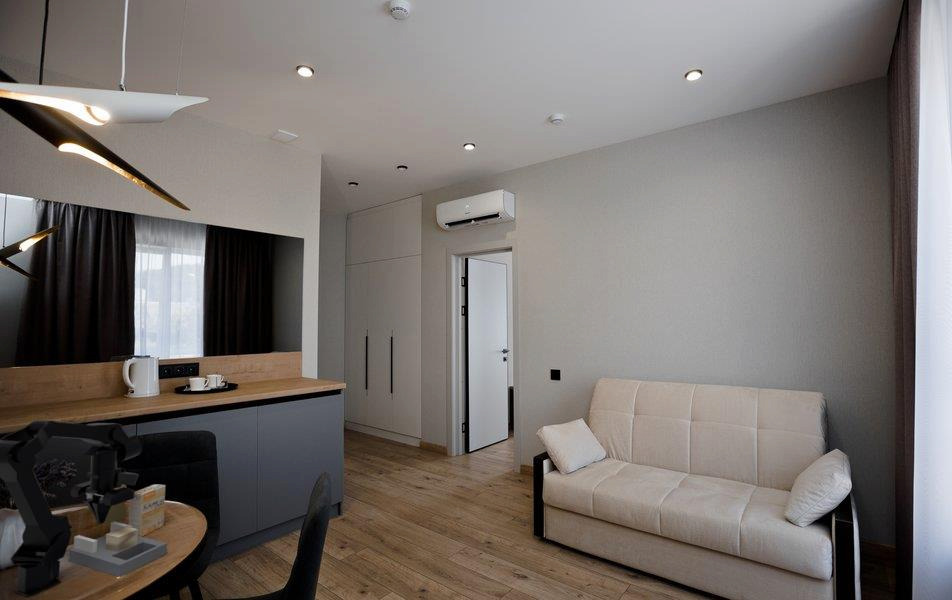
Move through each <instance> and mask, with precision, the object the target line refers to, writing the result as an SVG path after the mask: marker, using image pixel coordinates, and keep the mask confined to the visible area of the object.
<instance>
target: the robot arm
mask: <svg viewBox="0 0 952 600" xmlns="http://www.w3.org/2000/svg"><path fill="white" fill-rule="evenodd" d="M137 437H138V435H137V434H127V433H126V432H125V430H124V429H123V427H122V424H121V423H118V422H117V423H112V422H109V423H108V422H95V423H87V424H82V423H74V422H73V423H72V422H62V421H61V422H60V421H55V420H49V419H48V420H47V419H46V420H44V419H43V420H42V419H38V420H35V421H32V422H30V423H29V424H27V425H26V426H24V427H22V428H20V429H17V430H15V431H13V432H11V433H9V434H6V435H4V436H3V437H1V438H0V479H1V480H3V482H4V484H5V485H6V488H7V490H8V492H9V494H10V496H11V498H12V501H13V502H14V504H15V507H16V508H17V511H18V513H19V515H20V517H21V518H22V519H21V520H22V521H23V523H24V526H25V527H24V530H23V533H22V535H21V537H22V543H21V545H20V546H18V548H17V550H16V551H15V552H14V553H13V554H12V556H11V558H10V561H11V563H12V566H18V572H17V573H18V575H17V587H14V588H13V592H15V593H17V594H20V595H23V596H25V597H27V598H28V597H31V596H33V595H36V594H39V593H40V592H42V591H44V590H47V589H49V588H51V587H53V586H56V585H58V584H60V583H61V581H62V579H60V568H61V561H60V560H61V559H63V558H64V557H65V554H66V552H67V548H68V546H69V544H70V540H71V537H72V530H71V529H73V526H72V525H71V524H70V522H69V518H68V516H66V515H59V514H58V515H56V514H55V515H54V514H53V512H52V509H51V507H50V505H49V503H48V501H47V499H46V496H45V494H44V491H43V490H42V488H41V486H40V483H39V481H38V479H37V476H36V474H35V472H34V468H35V465H36V462H37V455H38V453H40V452H41V451H42V450H43V449H44V448H45V447H46V446H47V444H48V442H49V440H50V439H52V438H64V439H78V440H82V442H86V443H89V444H94V445H91V447H90V448H89V449H88V450H87V451H85V452H84V454H83V455H84V456H85V457H86V456H87V457H91V458H90V472H87V473H86V477H87V478H90V480H88V481H85V482H82V483H79V484H75V485H74V486H73V487H72V488H71V489H70V497H73V498H79V497H80V496H81V494H83V493H85V495H86V499H83V500H82V501H83V503H85V505H86V506H87V509H89V510H90V512H91V513H92V515H93V517H94V519H95V520H96V521H97V524H99V525H100V524H101V525H102V524H105V523H104V522H105V520H106V517H107V515H108V512H109V510H110V508H111V506H113V505H117V504H119V503H122V502H125V503H126V502H127V501H130V500H131V499H134V498H135V491H136V490H134V489H132V488H129V487H127V488H125V487H123V488H120V489H117V490H116V489H114V488H119V487H122V485H126V486H127V485H128V486H136V482H137V480H138V478H139V476H140V474H138V473H135V472H130V471H129V472H128V471H126V468H124V467H118V463H122V462H124V461H126V460H129V459H133V458H135V457H137V456H139V455H140V454H141V453H142V452H143V447H144V446H143V444H142V442H141V441H140V439H138V438H137ZM95 444H96V445H95ZM98 444H99V445H100V444H101V445H100V446H99V445H98Z"/></svg>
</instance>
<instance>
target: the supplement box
mask: <svg viewBox="0 0 952 600" xmlns="http://www.w3.org/2000/svg"><path fill="white" fill-rule="evenodd" d="M134 491H135V498H134V499H131V500H129V510H128V511H129V512H128V525H130V526H133V528H135V529H138V536H141V537H145V536H146V535H148V534H150V533H152V532H154V531H157V530H158V529H160V528H163V527H164V521H165V520H164V519H165V504H166V503H165V501H166V498H165V497H166V484H151V485H149V486H146V487H144V488H141V489H138V490H134Z"/></svg>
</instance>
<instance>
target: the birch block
mask: <svg viewBox="0 0 952 600" xmlns="http://www.w3.org/2000/svg"><path fill="white" fill-rule="evenodd" d="M105 535H106V549H107V550H111V551H114V552H120V551H122V550H124V549H127V548H129V547H131V546H133V545H136V544H137V537H138V529H135V528H131V527H127V526H125V527H123V528H120V529H118V530H115V531H113V532H108V533H106V534H105Z"/></svg>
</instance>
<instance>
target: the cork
mask: <svg viewBox="0 0 952 600" xmlns="http://www.w3.org/2000/svg"><path fill="white" fill-rule="evenodd" d="M123 487H125V488H128V487H127V485H122V487H119V488H114V489H116V490H117V489H120V488H123ZM126 517H127V518H128V513H127V507H126V501H125V502H122V503H119V504H117V505H113V506H111V508H110V510H109V512H108V515H107V517H106V520H105V522H104V523H103V524H111V523H112V522H118V521H119V522H122V521H124V520H126V519H127V518H126ZM125 518H126V519H125Z"/></svg>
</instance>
